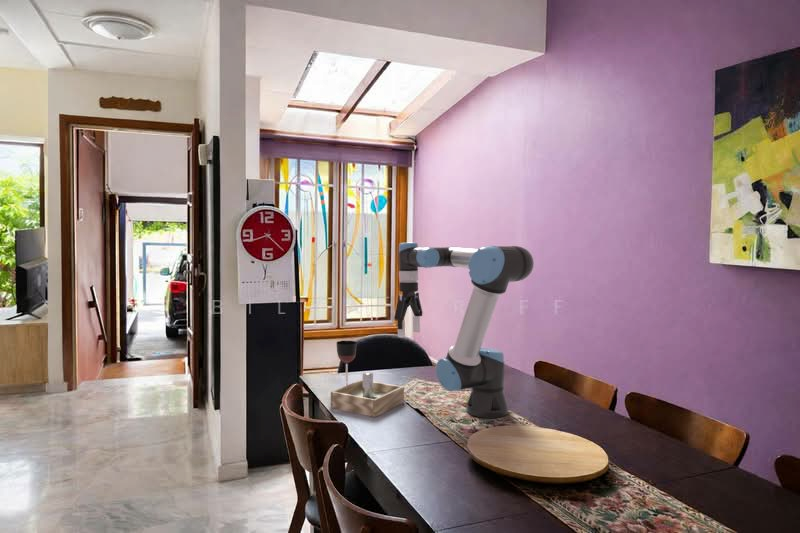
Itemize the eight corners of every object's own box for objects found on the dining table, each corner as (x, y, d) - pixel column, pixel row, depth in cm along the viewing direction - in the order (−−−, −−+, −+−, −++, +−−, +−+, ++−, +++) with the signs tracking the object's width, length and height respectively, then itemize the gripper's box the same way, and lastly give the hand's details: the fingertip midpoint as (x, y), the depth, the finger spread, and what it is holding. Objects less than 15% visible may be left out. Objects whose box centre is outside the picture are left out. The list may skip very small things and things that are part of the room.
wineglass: (348, 393, 215) (347, 345, 214) (332, 390, 221) (332, 342, 220) (360, 389, 222) (360, 342, 221) (345, 385, 227) (345, 339, 226)
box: (403, 402, 204) (403, 386, 204) (375, 416, 187) (375, 400, 187) (361, 394, 215) (361, 379, 214) (330, 407, 198) (330, 391, 197)
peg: (375, 404, 202) (375, 373, 201) (369, 407, 198) (369, 375, 198) (366, 402, 204) (366, 371, 203) (360, 405, 200) (360, 374, 200)
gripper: (413, 279, 222) (414, 329, 223) (384, 283, 200) (385, 339, 201) (430, 279, 218) (430, 330, 219) (402, 283, 196) (403, 340, 197)
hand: (409, 334), depth 210 cm, fingers open, 13 cm apart
